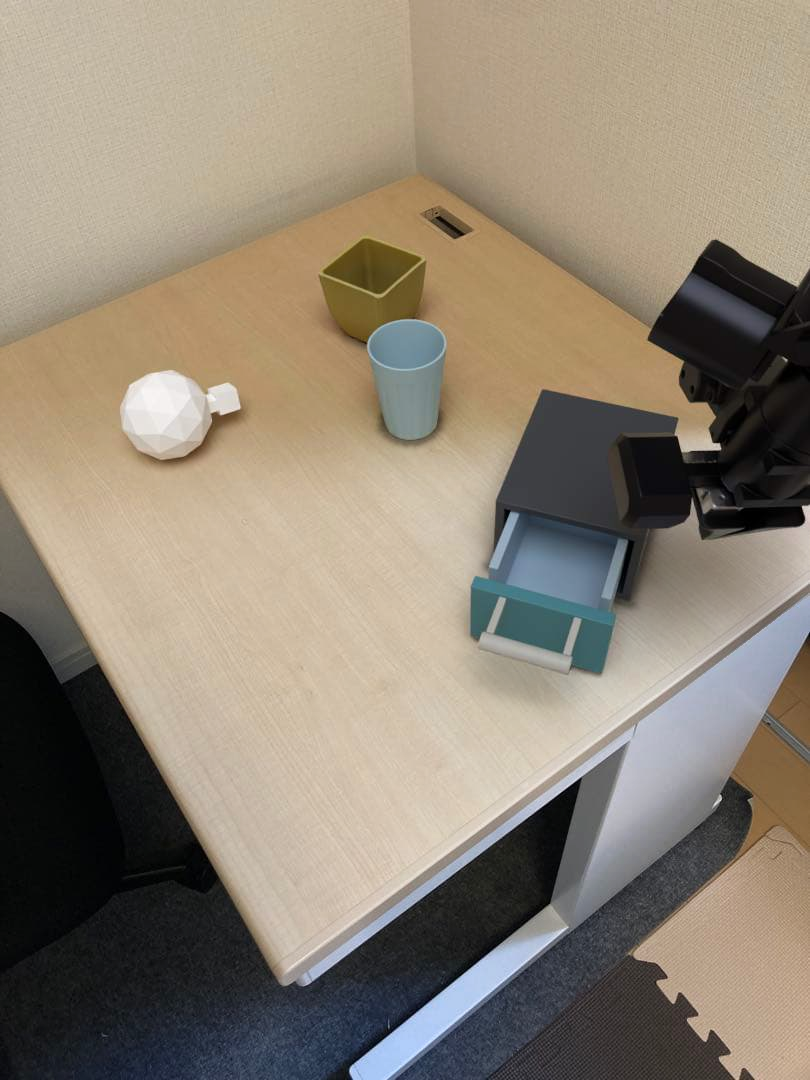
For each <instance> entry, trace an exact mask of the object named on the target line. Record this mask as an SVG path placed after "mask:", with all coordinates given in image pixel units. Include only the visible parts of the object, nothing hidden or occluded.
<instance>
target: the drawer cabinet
mask: <svg viewBox="0 0 810 1080" xmlns="http://www.w3.org/2000/svg"><path fill="white" fill-rule="evenodd" d="M536 400H537V401H536V403H535V406H534V407H533V410H532V412H531V415H530V417H529V419H528V422H527V425H526V427H525V430H524V431H523V434H522V436H521V439H520V442H519V443H518V446H517V448H516V450H515V453H514V456H513V457H512V461H511V463H510V465H509V468H508V470H507V473H506V475H505V477H504V480H503V482H502V484H501V487H500V490H499V492H498V494H497V496H496V499H495V508H494V509H495V510H494V532H493V534H494V535H493V537H494V538H493V553H494V552H495V549H496V547H497V544H498V542H499V539H500V537H501V534H502V532H503V529H504V527H505V524H506V522H507V519H508V517H509V514H510V512H511V510H512V511H516V512H520V513H524V514H528V515H532V516H536V517H540V518H544V519H548V520H552V521H556V522H560V523H564V524H568V525H572V526H576V527H580V528H584V529H588V530H592V531H596V532H600V533H604V534H608V535H612V536H616V537H620V538H624V539H628V540H631V541H630V546H629V550H628V553H627V557H626V560H625V564H624V567H623V571H622V574H621V578H620V581H619V584H618V588H617V591H616V595H615V598H614V599H619V600H623V601H627V602H631V600H632V595H633V591H634V588H635V585H636V581H637V577H638V573H639V570H640V567H641V563H642V559H643V555H644V552H645V548H646V545H647V541H648V537H649V534H650V530H651V529H633V530H630V529H629V528H627V527H626V526H625V525H623V524H622V523H621V522H620V518H619V514H618V509H617V504H616V499H615V494H614V490H613V485H612V480H611V475H610V471H609V466H608V461H607V456H606V455H607V453H608V451H609V450H610V448H611V446H612V444H613V442H614V441H615V440H616V439H617V438H618V436H619V435H620V434H621V433H658V432H670V433H672V434H674V435H676V430H677V427H678V423H679V417H678V416H672V415H668V414H664V413H658V412H653V411H648V410H644V409H639V408H635V407H630V406H626V405H625V406H624V405H619V404H616V403H611V402H606V401H601V400H597V399H592V398H587V397H583V396H577V395H572V394H568V393H563V392H559V391H553V390H549V389H544V388H542V389H541V391H540V393H539V396H538V398H537V399H536Z"/></svg>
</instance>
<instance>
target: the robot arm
mask: <svg viewBox="0 0 810 1080" xmlns="http://www.w3.org/2000/svg"><path fill="white" fill-rule="evenodd" d="M646 341H648V342H649V343H651V344H652V345H654V346H656V347H658V348H660V349H661V350H663V351H665V352H666V353H668V354H671V355H672V356H674V357H675V358H677V359H679V360H681V361H683V362H682V365H681V369H680V372H679V375H678V385H679V387H680V389H681V392H682V393H683V394H684V396H685V398H686V400H687V401H688V403H690V404H707V405H708V407H709V408H710V410H711V412H712V413H713V415H714V416H715V417H714V420H713V421H712V422H711V423H710V425H709V427H708V432H709V436H710V438H711V442H712V444H719V446H720V449H716V450H715V449H713V450H712V449H711V450H710V449H708V450H690V451H682V447H681V444H680V440H679V437H678V436H677V435H676V434H675V435H674V434H672V433H670V432H658V433H621V434H620V435H619V436H618V438H617V439H616V440H615V441H614V442H613V444H612V446H611V448H610V450H609V451H608V453H607V455H606V456H607V461H608V466H609V471H610V475H611V480H612V485H613V490H614V494H615V499H616V504H617V509H618V514H619V518H620V522H621V523H622V524H623V525H625V526H626V527H627V528H629V529H630V530H633V529H650V530H663V529H670V528H674V527H676V526H679V525H681V524H684V523H685V522H686V521H687V519H688V518H689V517H690V516H691V512H692V503H693V506H694V510H695V514H696V517H697V522H698V532H699V536H700V539H701V541H714V540H720V539H725V538H732V537H738V536H744V535H750V534H757V533H763V532H764V533H765V532H770V531H778V530H785V529H793V528H800V527H802V526H803V525H804V524H805V523H806V515H805V512H804V509H803V507H809V506H810V267H809V268H808V270H807V272H806V273H805V275H804V276H803V278H802V279H801V280H800V282H799V284H798V285H797V286H796V285H795V284H793V283H790V282H789V281H787V280H785V279H784V278H781V277H780V276H779V275H776V274H774V273H773V272H771V271H768V270H767V269H766V268H763V267H761V266H760V265H758V264H755V263H754V262H752V261H750V260H749V259H747V258H746V257H744V256H743V255H742V254H740V253H739V252H738V251H737V250H736V249H734V248H733V247H732V246H729V245H728V244H726V243H725V242H722V241H720V240H718V239H716V238H715V239H711V240H710V242H709V243H708V244H707V245H706V246H705V248H704V249H703V250H702V252H701V253H700V254H699V256H698V257H697V259H696V261H695V262H694V265H693V267H692V268H691V270H690V271H689V273H688V274H687V276H686V278H685V279H684V280H683V283H682V284H681V285H680V287H678V289H677V291H676V292H675V293H674V294H673V296H672V297H671V298H670V299H669V301H668V302H667V304H666V305H665V307H664V308H663V309H662V310H661V311H660V313H659V315H658V316H657V318H656V320H655V322H654V324H653V325H652V328H651V329H650V332H649V334H648V336H647V339H646Z"/></svg>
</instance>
